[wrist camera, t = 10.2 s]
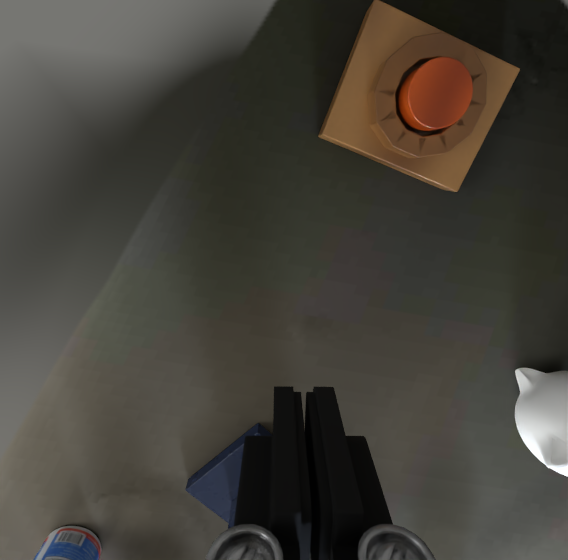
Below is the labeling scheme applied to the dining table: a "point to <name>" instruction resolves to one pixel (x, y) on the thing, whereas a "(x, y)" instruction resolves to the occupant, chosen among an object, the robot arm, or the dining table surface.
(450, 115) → the button
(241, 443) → the bracket
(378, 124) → the button block
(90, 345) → the dining table surface
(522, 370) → the cat figurine
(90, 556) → the pill bottle
